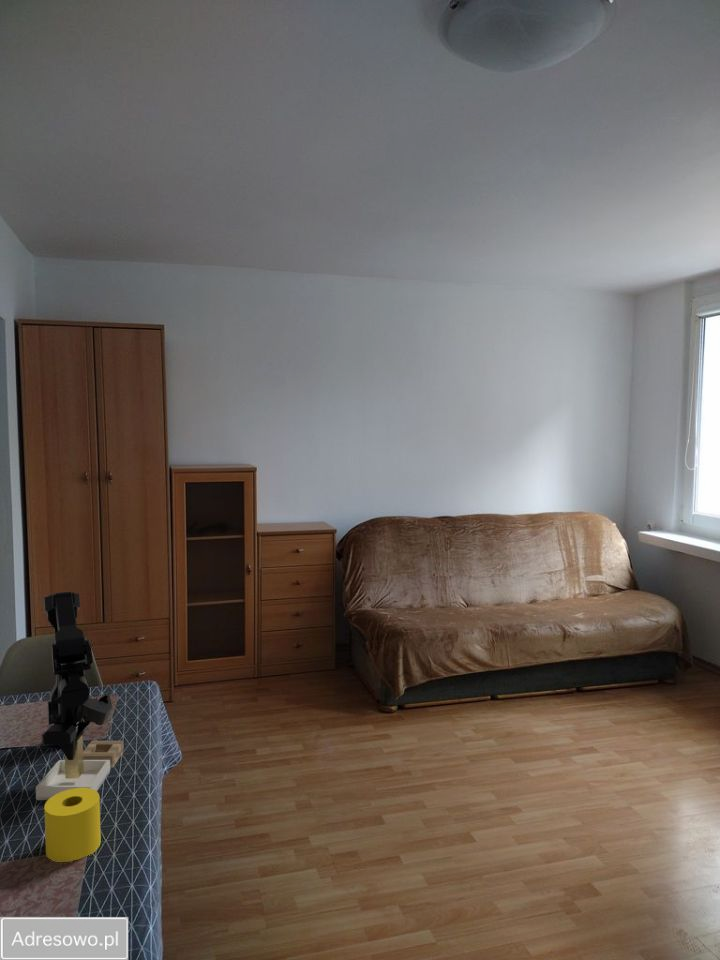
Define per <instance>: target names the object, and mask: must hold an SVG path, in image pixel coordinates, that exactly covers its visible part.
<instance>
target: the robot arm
mask: <svg viewBox="0 0 720 960" xmlns="http://www.w3.org/2000/svg"><path fill="white" fill-rule="evenodd" d="M80 609H81V597H80V593H76V592H74V591H71V590H70V591H69V590H68V591H57V592H55V593H52V594H48V596H45V597H43V613H44V614H46V617H47V621H48V623H50V625H51V626H52V627H53V633H54V635H53V637H54V643H53V644H51V659H52V670H53V675H54V676H55V683H54V686H53V687H52V689H51V691H50V693H49V699H50V700H49V701H47V711H46V712H47V722H48V726H50V727H49V728H47V730H46V731H45V732H43V734H42V735H41V744H42V745H45V746H49V747H51V748H52V747H53V748H54V747H58V748H60V749H61V750H62V753H63V754H64V757H65V756H66V757H67V759H68V760H73V759H74V753H75V744H76V738H78V736H79V735H83V736H84V734H85V731H86V728H87V727H88V726H89V725H90V724H91V723H94V725H98V726H102V725H104V723H105V722H106V721H107V720H108V719H109V716H110V713H111V710H112V709H113V703H112V700H111V695H109V694H106V693H104V694H103V695H102V696H101V697H100V698H99V699H98V697H95V698H91V696H90V695H91V694H90V688H89V686H88V681H87V679H86V677H85V676H86V675H85V671H88V670H89V671H90V670H92V668H91V666H92V664H94V663H93V662H94V659H93V651H92V644H91V643H90V641H89V639H86V637H85V633H84V631H83V630H82V629H81V628H79V627H78V625H77V620H76V619H77V618H78V610H80ZM85 660H86V661H85Z"/></svg>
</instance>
